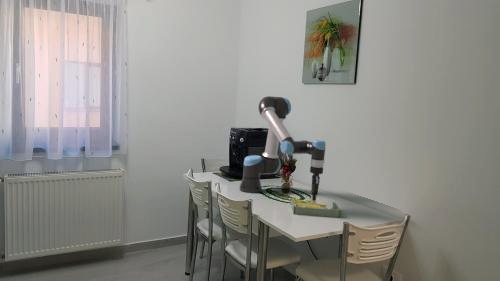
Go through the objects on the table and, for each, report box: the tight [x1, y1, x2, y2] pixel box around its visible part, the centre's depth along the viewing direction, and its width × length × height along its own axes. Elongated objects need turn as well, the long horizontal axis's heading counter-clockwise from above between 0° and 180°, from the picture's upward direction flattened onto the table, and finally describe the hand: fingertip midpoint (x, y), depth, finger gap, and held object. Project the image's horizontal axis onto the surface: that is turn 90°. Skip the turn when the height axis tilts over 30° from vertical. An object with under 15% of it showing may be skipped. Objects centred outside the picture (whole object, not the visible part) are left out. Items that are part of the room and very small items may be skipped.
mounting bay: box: [290, 198, 342, 218], centre depth 215 cm, size 17×26×5 cm, turn 89°
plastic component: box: [292, 195, 327, 209], centre depth 217 cm, size 20×7×10 cm
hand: (313, 205), depth 223 cm, fingers closed
